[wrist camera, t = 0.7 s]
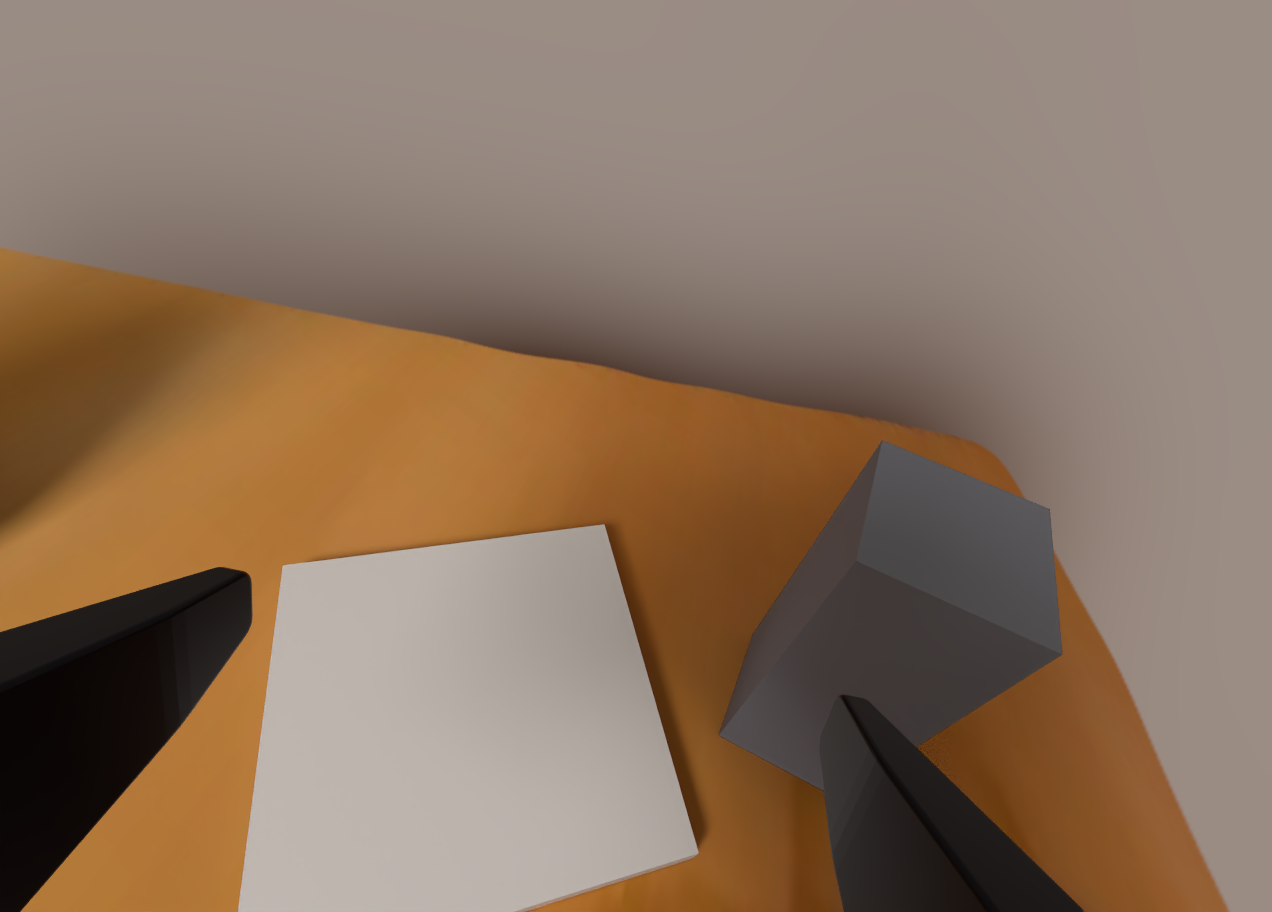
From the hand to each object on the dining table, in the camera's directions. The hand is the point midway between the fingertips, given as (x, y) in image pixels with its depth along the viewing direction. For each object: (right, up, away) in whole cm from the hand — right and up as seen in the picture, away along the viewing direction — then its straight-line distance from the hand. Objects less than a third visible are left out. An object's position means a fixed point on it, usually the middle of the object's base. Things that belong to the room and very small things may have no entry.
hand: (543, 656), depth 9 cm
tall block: (+8, -8, +16) cm, 20 cm away
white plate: (-5, -7, +14) cm, 17 cm away
